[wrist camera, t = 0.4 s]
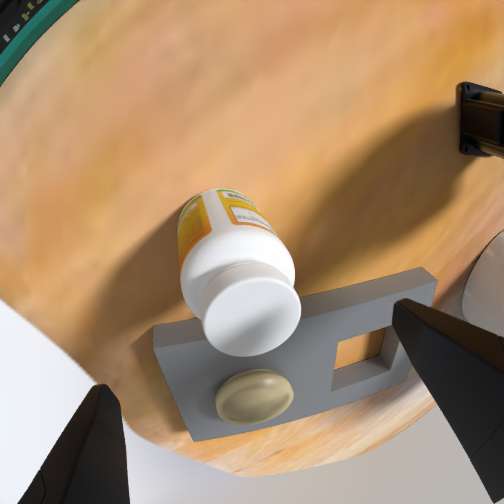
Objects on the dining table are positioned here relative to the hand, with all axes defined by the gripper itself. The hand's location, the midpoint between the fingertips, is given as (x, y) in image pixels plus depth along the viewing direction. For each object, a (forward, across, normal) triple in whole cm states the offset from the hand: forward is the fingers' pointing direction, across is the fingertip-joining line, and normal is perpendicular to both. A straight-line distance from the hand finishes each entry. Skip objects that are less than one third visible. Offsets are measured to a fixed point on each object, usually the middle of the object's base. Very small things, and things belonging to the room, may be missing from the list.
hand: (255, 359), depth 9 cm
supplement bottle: (+13, 0, +2) cm, 13 cm away
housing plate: (+13, -5, +16) cm, 21 cm away
